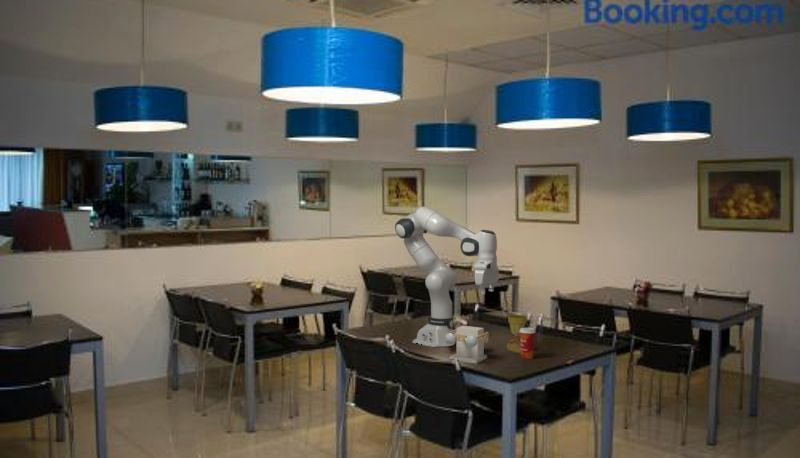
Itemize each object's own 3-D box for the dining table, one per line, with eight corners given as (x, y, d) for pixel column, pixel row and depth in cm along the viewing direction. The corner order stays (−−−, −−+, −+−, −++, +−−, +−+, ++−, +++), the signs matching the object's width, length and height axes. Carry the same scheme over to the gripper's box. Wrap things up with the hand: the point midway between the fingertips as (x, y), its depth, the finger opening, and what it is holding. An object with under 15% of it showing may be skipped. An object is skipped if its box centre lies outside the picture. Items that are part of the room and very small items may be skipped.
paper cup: (517, 356, 321) (517, 327, 321) (532, 355, 322) (532, 327, 321) (521, 360, 314) (521, 330, 313) (537, 359, 314) (537, 330, 314)
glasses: (488, 342, 315) (488, 331, 315) (476, 347, 303) (476, 336, 303) (457, 338, 324) (457, 327, 323) (444, 343, 312) (444, 332, 312)
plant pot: (526, 332, 379) (526, 315, 378) (526, 335, 368) (526, 318, 368) (508, 331, 380) (508, 314, 380) (507, 335, 370) (508, 317, 370)
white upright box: (490, 358, 316) (491, 328, 315) (477, 365, 303) (478, 334, 303) (456, 354, 325) (457, 324, 324) (443, 360, 313) (443, 329, 312)
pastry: (520, 345, 346) (521, 330, 345) (539, 351, 332) (539, 335, 332) (500, 348, 339) (500, 332, 339) (518, 354, 326) (518, 338, 326)
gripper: (490, 262, 327) (489, 289, 328) (472, 265, 310) (472, 295, 311) (502, 262, 324) (501, 290, 325) (484, 266, 307) (484, 296, 307)
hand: (487, 292), depth 318 cm, fingers open, 8 cm apart
